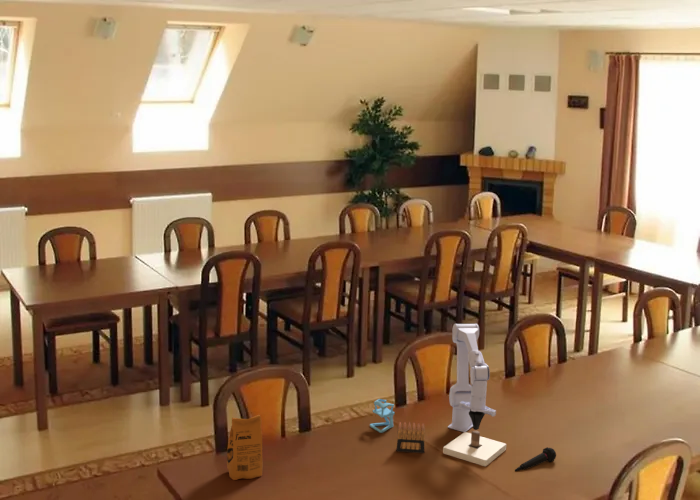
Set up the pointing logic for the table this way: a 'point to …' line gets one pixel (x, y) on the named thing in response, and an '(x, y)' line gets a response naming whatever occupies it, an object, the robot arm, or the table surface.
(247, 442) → the coffee package
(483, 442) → the cream board
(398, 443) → the ammunition clip
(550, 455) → the microphone
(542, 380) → the table surface
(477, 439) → the walnut peg
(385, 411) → the light blue bar frame
